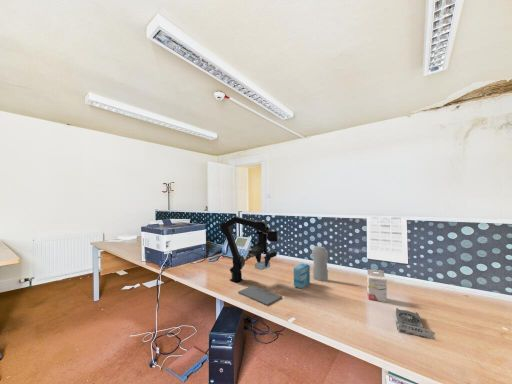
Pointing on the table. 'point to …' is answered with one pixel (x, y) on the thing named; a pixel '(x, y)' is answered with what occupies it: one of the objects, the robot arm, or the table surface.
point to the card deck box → (261, 265)
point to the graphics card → (411, 324)
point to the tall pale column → (320, 263)
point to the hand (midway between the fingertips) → (262, 265)
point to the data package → (301, 275)
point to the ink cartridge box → (376, 286)
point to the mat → (260, 295)
